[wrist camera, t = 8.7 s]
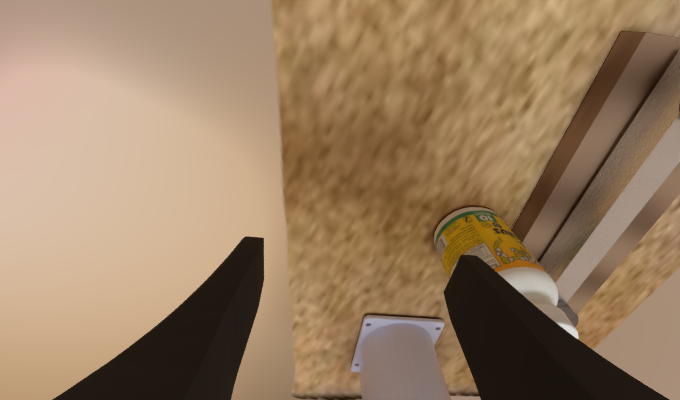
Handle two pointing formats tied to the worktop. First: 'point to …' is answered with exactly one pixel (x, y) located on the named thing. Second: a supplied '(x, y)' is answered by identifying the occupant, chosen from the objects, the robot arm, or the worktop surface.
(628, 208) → the lever
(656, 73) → the base board
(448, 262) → the supplement bottle
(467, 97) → the worktop surface
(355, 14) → the worktop surface
